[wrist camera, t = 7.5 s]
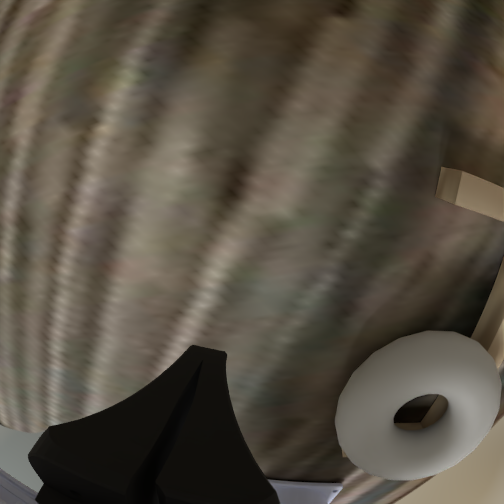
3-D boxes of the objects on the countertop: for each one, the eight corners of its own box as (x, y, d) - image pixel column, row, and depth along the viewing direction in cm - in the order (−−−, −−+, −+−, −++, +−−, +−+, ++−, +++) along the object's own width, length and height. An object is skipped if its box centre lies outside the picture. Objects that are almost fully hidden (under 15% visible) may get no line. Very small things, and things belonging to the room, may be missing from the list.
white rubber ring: (462, 301, 11) (528, 422, 10) (442, 283, 14) (510, 394, 13) (292, 422, 14) (389, 509, 13) (304, 389, 17) (389, 474, 16)
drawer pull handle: (422, 445, 19) (428, 462, 17) (332, 446, 19) (335, 467, 17) (542, 183, 12) (564, 190, 10) (446, 137, 12) (468, 137, 10)
